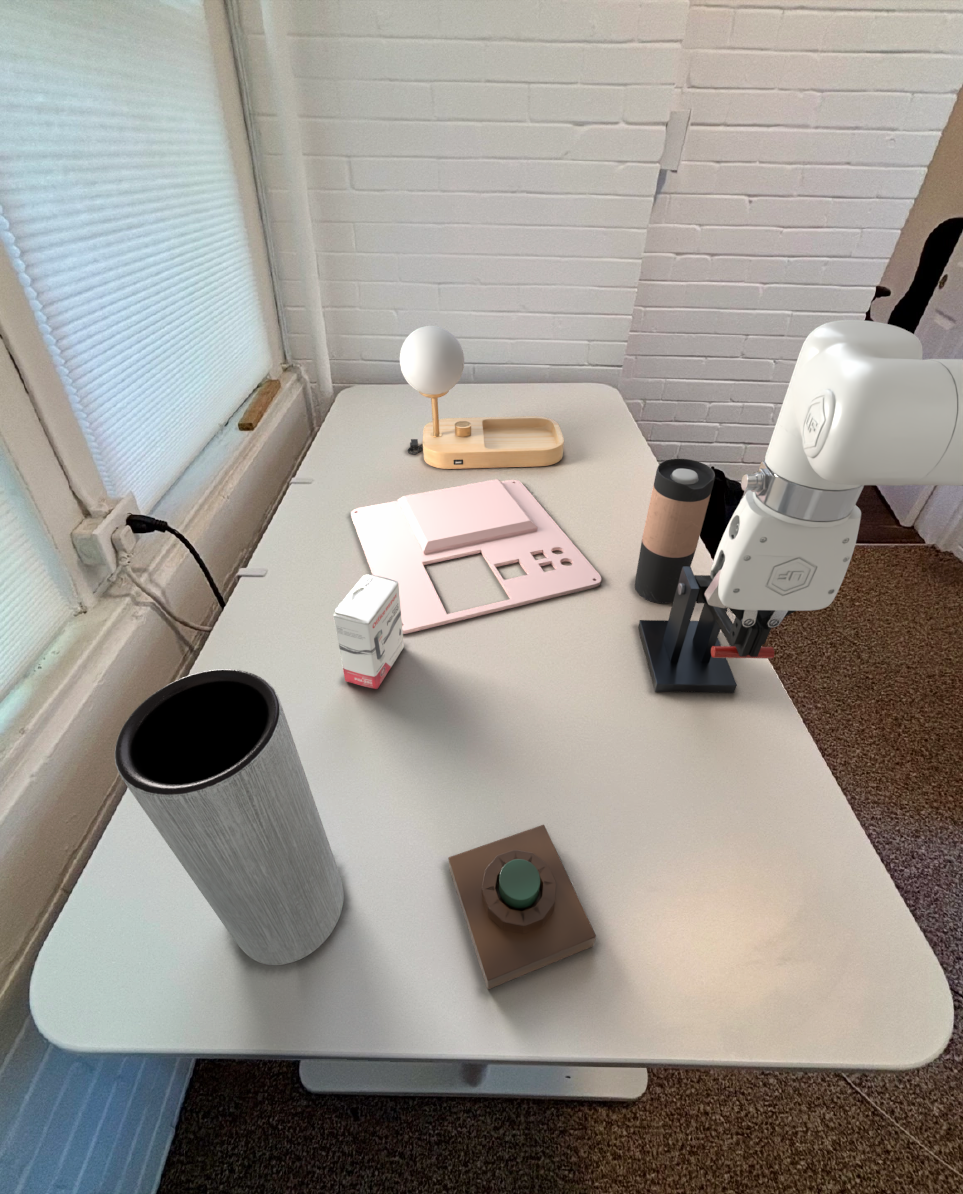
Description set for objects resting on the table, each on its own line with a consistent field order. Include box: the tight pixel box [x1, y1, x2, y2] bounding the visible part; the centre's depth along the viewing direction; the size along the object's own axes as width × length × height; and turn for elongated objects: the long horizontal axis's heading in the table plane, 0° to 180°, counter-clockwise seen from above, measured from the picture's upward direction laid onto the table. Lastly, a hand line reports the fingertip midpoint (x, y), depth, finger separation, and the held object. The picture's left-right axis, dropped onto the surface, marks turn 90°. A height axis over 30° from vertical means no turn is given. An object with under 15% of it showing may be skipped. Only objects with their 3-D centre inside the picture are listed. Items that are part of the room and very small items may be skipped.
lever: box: [694, 574, 775, 660], centre depth 66 cm, size 15×6×2 cm, turn 179°
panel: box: [350, 478, 602, 635], centre depth 99 cm, size 35×33×2 cm
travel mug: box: [634, 458, 716, 604], centre depth 84 cm, size 8×8×20 cm
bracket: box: [637, 566, 738, 694], centre depth 75 cm, size 12×10×14 cm
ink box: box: [333, 573, 405, 690], centre depth 75 cm, size 9×5×12 cm, turn 161°
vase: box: [114, 668, 345, 966], centre depth 46 cm, size 10×10×27 cm
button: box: [499, 859, 540, 909], centre depth 52 cm, size 4×4×2 cm
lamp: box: [399, 325, 565, 470], centre depth 119 cm, size 33×17×25 cm, turn 93°
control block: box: [448, 824, 597, 990], centre depth 54 cm, size 11×10×4 cm
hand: (743, 646), depth 60 cm, fingers closed
